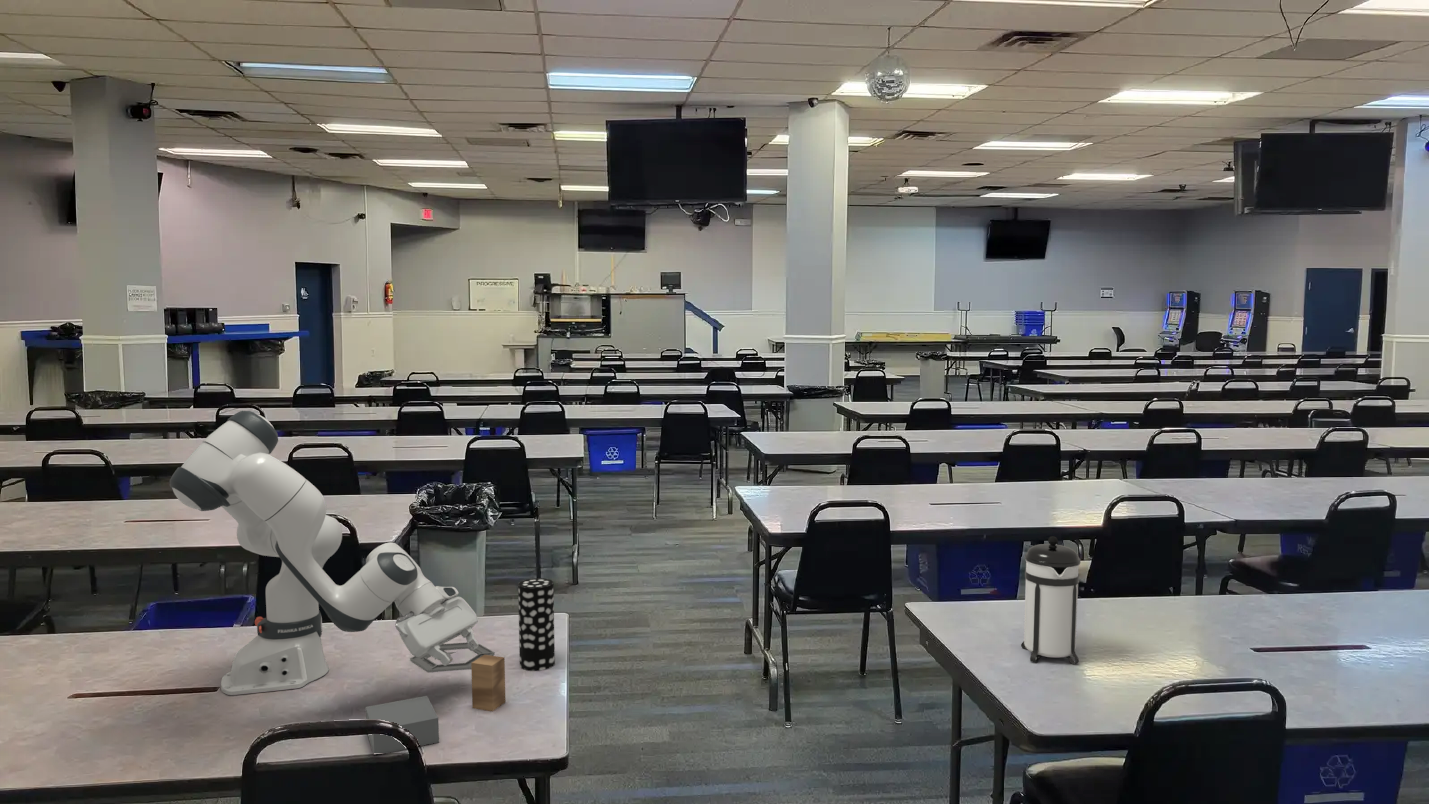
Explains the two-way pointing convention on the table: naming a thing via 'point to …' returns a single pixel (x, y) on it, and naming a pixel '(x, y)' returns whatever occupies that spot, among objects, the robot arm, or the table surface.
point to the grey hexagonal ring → (432, 667)
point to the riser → (405, 722)
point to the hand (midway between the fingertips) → (462, 655)
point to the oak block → (488, 682)
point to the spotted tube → (536, 624)
